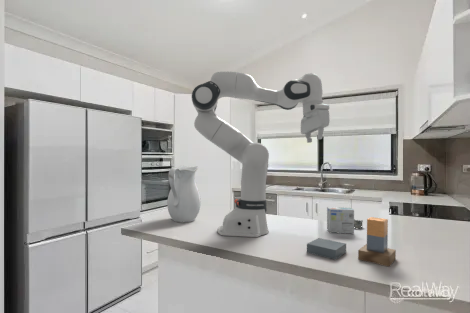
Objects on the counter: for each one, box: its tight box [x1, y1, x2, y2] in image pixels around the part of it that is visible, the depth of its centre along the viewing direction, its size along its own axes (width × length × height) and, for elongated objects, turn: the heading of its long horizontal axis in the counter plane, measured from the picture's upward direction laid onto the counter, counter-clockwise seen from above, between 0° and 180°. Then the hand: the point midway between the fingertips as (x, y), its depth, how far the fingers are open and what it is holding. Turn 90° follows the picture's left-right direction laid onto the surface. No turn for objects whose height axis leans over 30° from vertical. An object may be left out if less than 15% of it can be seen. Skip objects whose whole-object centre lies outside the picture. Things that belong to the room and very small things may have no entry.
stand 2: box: [357, 243, 397, 267], centre depth 90 cm, size 9×9×3 cm
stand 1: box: [306, 237, 347, 260], centre depth 96 cm, size 10×10×3 cm
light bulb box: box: [326, 206, 355, 234], centre depth 126 cm, size 11×7×11 cm, turn 84°
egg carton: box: [354, 218, 364, 229], centre depth 136 cm, size 11×8×4 cm
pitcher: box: [166, 165, 202, 223], centre depth 140 cm, size 24×17×28 cm
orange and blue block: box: [366, 216, 389, 254], centre depth 90 cm, size 5×5×10 cm
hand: (314, 140), depth 122 cm, fingers open, 8 cm apart
